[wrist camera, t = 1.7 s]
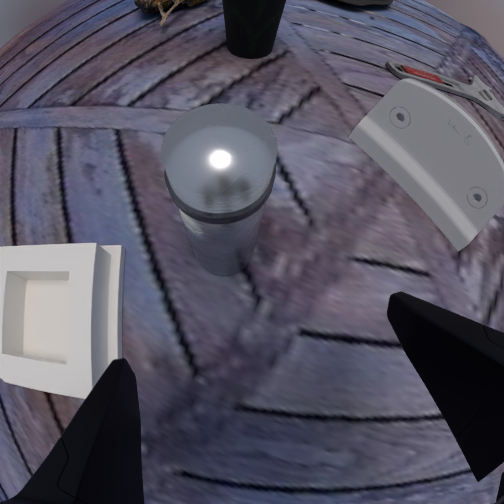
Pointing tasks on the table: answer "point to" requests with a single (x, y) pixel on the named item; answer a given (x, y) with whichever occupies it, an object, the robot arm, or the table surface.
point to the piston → (220, 181)
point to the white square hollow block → (60, 315)
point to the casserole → (367, 2)
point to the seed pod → (162, 6)
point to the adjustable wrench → (472, 91)
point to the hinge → (436, 157)
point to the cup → (252, 26)
